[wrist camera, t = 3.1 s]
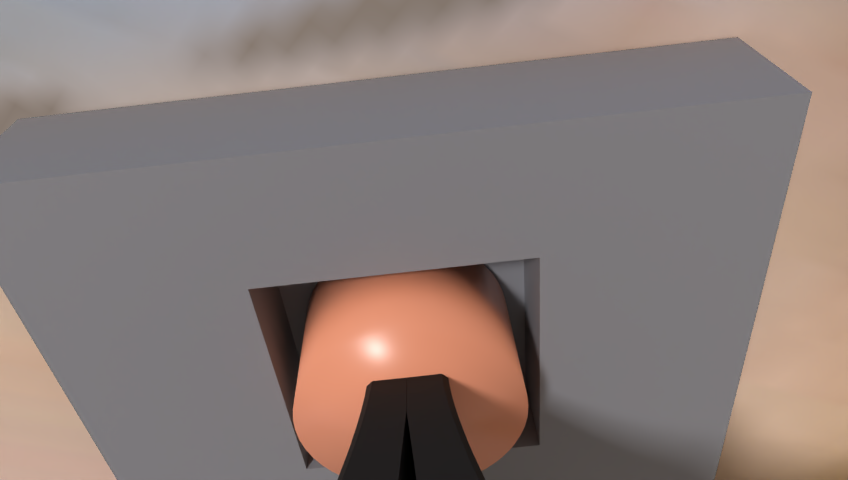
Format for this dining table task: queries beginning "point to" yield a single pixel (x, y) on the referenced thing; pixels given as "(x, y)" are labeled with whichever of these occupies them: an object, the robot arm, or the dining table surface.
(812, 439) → the dining table surface
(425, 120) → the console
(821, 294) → the dining table surface
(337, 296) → the button terracotta
